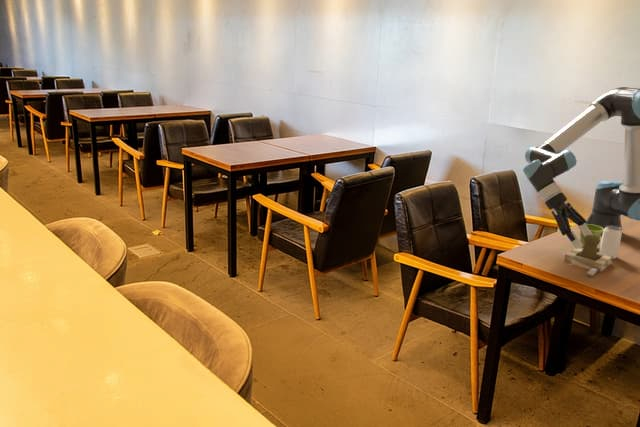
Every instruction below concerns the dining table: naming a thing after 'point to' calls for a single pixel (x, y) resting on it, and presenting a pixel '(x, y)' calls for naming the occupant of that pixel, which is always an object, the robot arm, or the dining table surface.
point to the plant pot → (594, 230)
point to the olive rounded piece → (590, 247)
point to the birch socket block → (587, 260)
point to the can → (610, 241)
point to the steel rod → (592, 271)
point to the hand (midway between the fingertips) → (585, 243)
